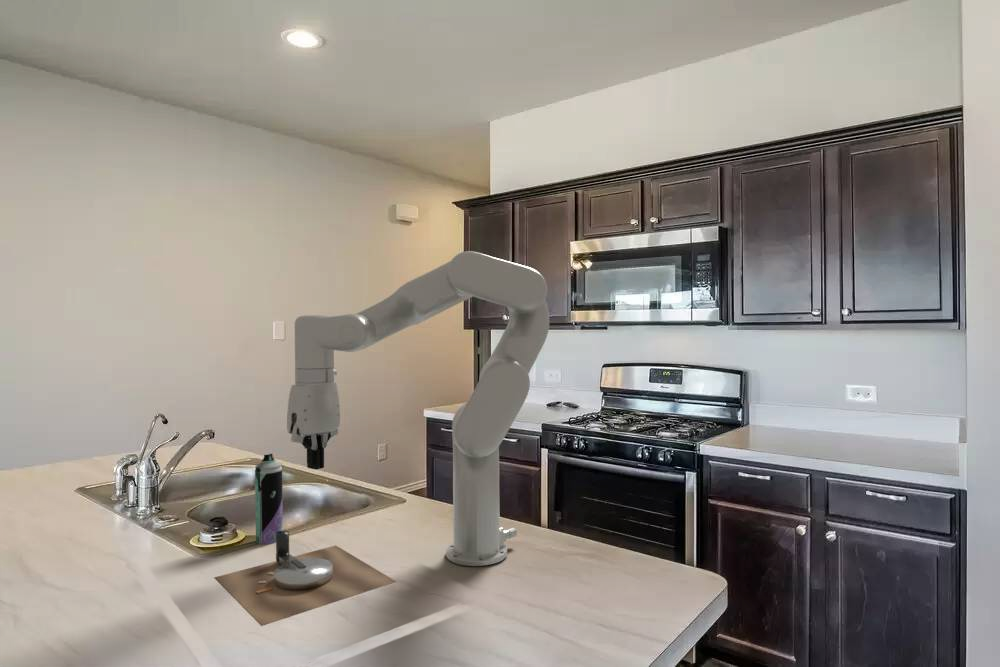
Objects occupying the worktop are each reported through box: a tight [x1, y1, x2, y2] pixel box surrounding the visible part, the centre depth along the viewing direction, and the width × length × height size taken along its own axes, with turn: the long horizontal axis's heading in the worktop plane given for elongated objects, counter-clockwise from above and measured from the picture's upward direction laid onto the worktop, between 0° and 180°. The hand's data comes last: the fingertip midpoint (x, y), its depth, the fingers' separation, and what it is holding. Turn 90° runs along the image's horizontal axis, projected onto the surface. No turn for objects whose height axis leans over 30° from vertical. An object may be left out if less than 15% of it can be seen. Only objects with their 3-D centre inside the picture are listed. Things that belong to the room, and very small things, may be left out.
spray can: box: [254, 453, 284, 545], centre depth 132 cm, size 6×6×20 cm
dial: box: [275, 530, 333, 590], centre depth 113 cm, size 16×10×6 cm, turn 41°
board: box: [214, 545, 397, 627], centre depth 111 cm, size 24×24×2 cm
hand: (315, 467), depth 123 cm, fingers closed
